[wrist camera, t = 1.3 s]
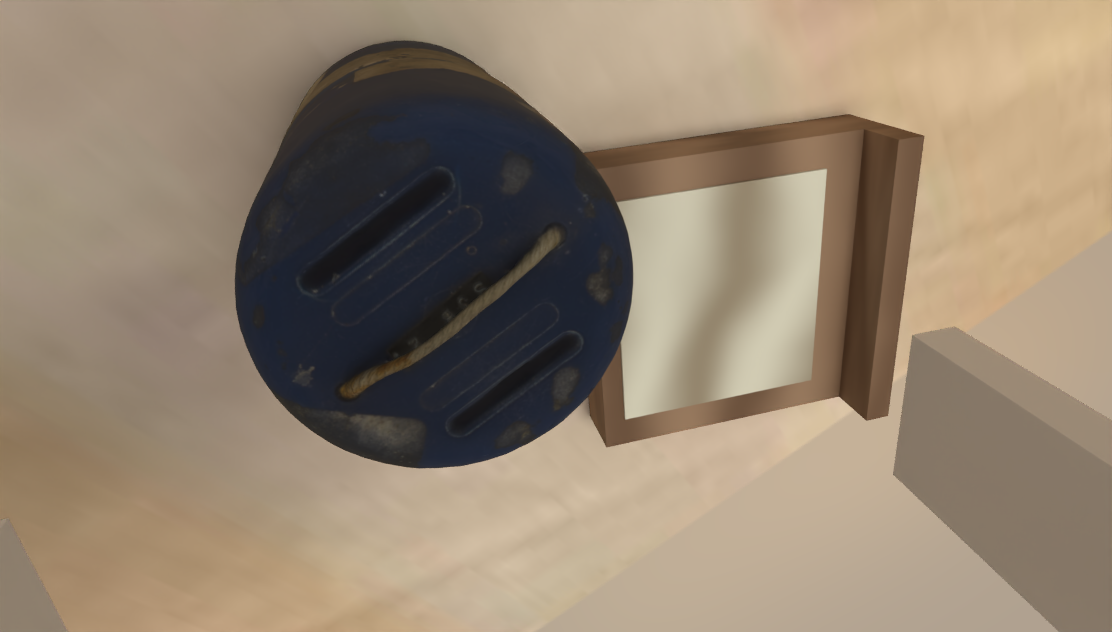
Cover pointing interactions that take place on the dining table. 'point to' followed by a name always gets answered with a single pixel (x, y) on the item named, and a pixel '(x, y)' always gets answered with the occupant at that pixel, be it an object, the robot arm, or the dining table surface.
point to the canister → (430, 263)
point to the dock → (759, 273)
